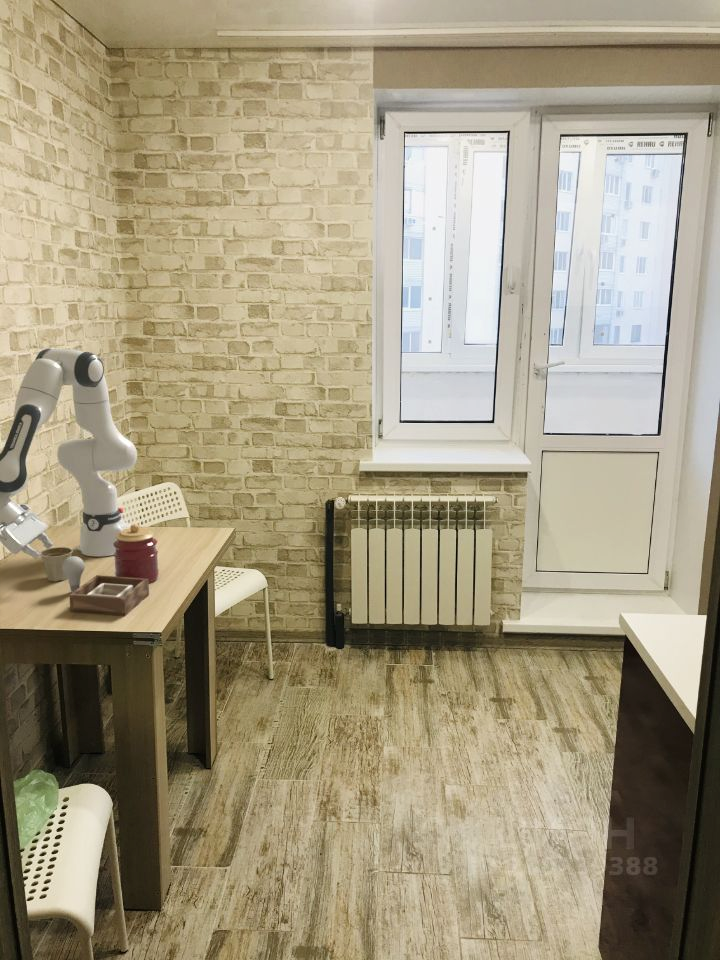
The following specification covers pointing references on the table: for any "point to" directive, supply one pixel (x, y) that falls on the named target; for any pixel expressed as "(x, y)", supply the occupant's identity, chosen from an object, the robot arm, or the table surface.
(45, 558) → the flower pot
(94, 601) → the socket box
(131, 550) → the canister
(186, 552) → the table surface
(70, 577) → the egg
